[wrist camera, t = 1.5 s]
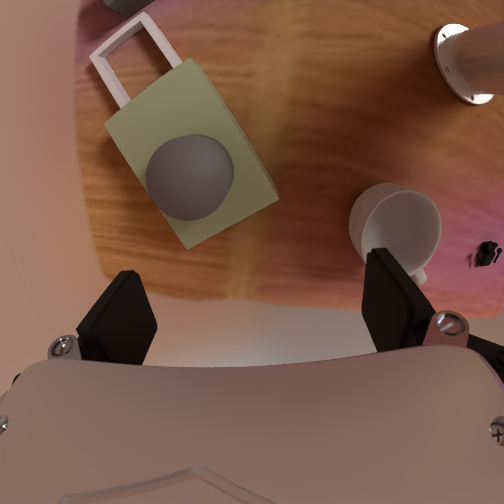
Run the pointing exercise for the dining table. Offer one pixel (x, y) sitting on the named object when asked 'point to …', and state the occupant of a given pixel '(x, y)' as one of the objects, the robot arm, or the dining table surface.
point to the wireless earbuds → (488, 253)
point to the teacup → (396, 226)
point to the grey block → (127, 6)
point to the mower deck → (185, 117)
